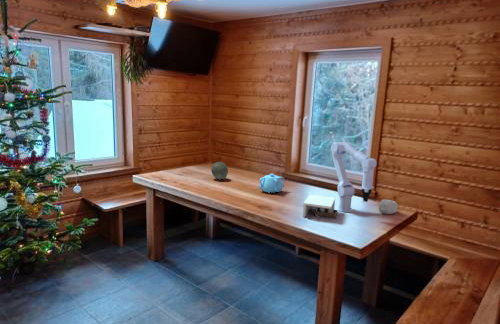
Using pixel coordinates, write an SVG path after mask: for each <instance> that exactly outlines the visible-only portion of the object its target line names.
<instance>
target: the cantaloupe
mask: <svg viewBox="0 0 500 324" xmlns="http://www.w3.org/2000/svg"><path fill="white" fill-rule="evenodd" d="M210 170H211V175H212V176H213V177H214V178H215V179H217V180H218V179H219V181H222V180H221V179H223V180H225V179H226V178H227V176H228V173H229V167H228V166H227V164H226V163H225V162H222V161H216V162H214V163H213V164H212V166H211V169H210Z"/></svg>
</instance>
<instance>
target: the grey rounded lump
mask: <svg viewBox="0 0 500 324" xmlns="http://www.w3.org/2000/svg"><path fill="white" fill-rule="evenodd" d="M398 206H399V204H398V203H397V201H394V200H392V199H391V200H390V199H381V201H379V204H378V211H379V212H380V214H385V215H391V214H395V213H397V211H398V209H399V207H398Z"/></svg>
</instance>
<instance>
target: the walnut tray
mask: <svg viewBox="0 0 500 324" xmlns="http://www.w3.org/2000/svg"><path fill="white" fill-rule="evenodd" d="M333 208H334V210H333ZM338 212H339V211H338V209H335V206H332V208H331V209H329V208H328V209H326V208H322V207H320V208H317V209H315V215H314V216H315V217H322V218H327V219H334V220H335V219H337V217H338Z"/></svg>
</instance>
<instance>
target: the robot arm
mask: <svg viewBox="0 0 500 324" xmlns="http://www.w3.org/2000/svg"><path fill="white" fill-rule="evenodd" d="M330 150H331V157H332V160H333V164H334V167H335V171H336V175H337V179H338V182H339V183H338V185H337V186H336V188H337V194H338V197H339V203H338V208H337V210H338V211H337V212H340V213H342V212H343V213H349V214H351V213H352V199H353V196H354V195H355V194H356V190H355V187H354V186H353V184H352V182H350V181H349V178H348V176H347V171H346V169H345V165H344V161H343V158H342V157H343V156H344V155H345V154H346V153H348V154H349V155H351V156H352V157H354V160H355V161H356V162H358V163H359V164H361V166H362V181H361V190H360V191H361V193H362V198H363V202H364V203H365V202H367V203H368V201H369V197H370V194H372V192H373V191H372V190H373V189H375V186H373V184H374V183H373V182H374V171H375V168H376V167H377V164H378V163H377V160H376V158H373V157H372V158H371V157H369V156H368V155H366V154H364V153H365V152H363V151H358V150H356V149H354V148H353V146H351V145H350V143H349V142H346V141H342V142H341V141H340V142H339V141H337V142H336V141H334V142H332V144H331V146H330Z"/></svg>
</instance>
